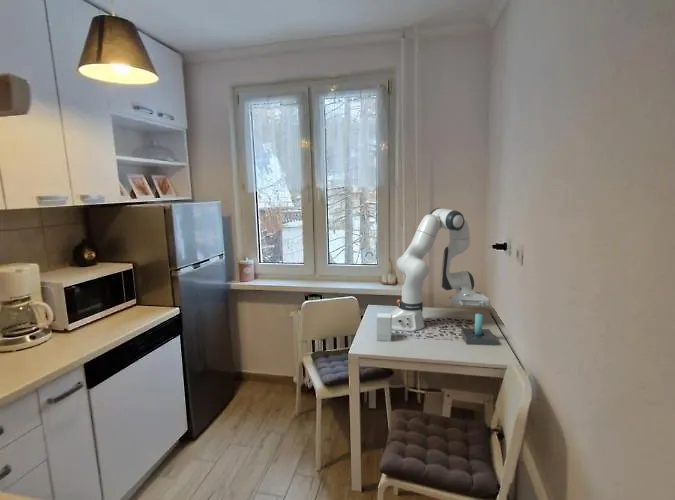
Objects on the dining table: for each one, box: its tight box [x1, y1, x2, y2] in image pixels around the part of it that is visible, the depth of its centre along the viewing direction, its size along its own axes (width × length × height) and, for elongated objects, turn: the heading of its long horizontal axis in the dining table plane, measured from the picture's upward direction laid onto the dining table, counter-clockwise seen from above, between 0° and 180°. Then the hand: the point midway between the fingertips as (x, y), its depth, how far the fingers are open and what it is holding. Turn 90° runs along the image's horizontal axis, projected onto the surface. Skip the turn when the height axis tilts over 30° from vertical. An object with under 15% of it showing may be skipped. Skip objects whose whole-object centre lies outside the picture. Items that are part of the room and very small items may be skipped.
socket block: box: [460, 327, 498, 346], centre depth 190 cm, size 14×14×3 cm
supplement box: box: [376, 312, 393, 343], centre depth 193 cm, size 7×7×13 cm
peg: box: [474, 313, 484, 336], centre depth 189 cm, size 4×4×13 cm
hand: (472, 304), depth 200 cm, fingers open, 8 cm apart
